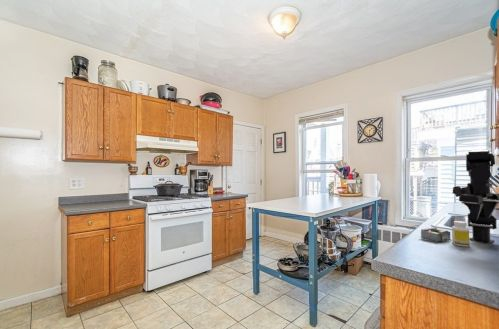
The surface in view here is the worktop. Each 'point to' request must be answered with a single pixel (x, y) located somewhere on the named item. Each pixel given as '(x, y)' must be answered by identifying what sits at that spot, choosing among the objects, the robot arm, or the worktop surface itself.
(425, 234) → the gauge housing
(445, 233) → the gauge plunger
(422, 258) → the worktop surface
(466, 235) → the supplement bottle
